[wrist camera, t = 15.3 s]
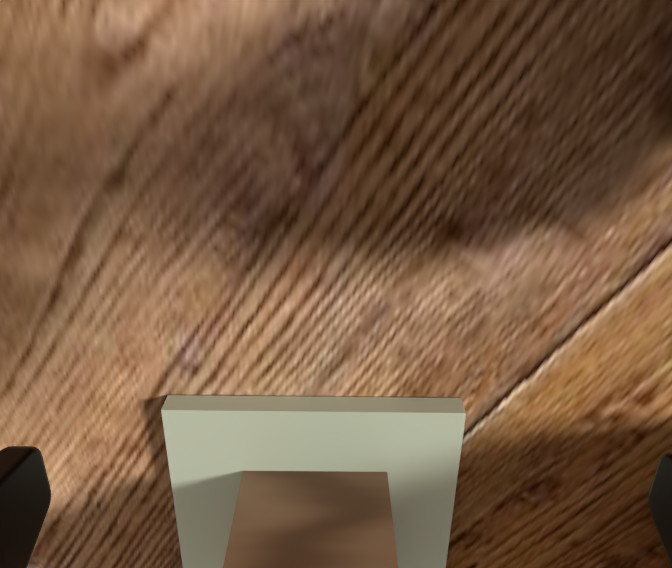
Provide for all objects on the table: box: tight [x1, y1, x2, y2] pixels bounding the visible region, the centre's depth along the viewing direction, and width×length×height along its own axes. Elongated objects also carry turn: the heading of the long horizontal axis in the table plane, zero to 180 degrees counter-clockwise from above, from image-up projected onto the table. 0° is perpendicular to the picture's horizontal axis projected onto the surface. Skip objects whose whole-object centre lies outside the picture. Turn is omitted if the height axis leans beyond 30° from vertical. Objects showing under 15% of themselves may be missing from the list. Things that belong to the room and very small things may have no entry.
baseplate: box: [161, 395, 466, 568], centre depth 26 cm, size 12×12×1 cm
